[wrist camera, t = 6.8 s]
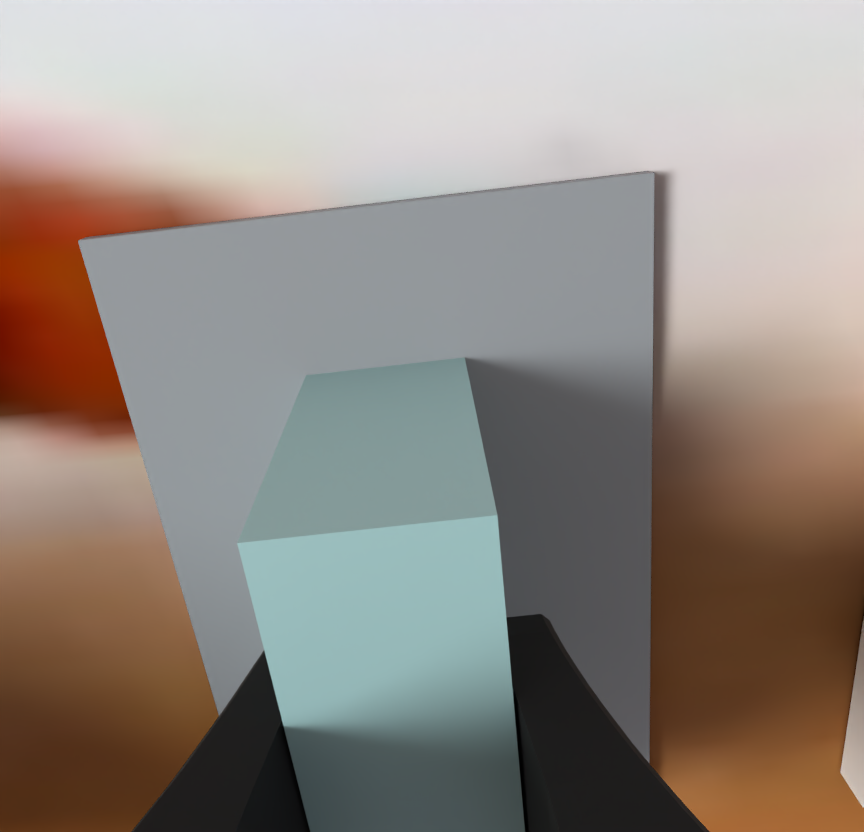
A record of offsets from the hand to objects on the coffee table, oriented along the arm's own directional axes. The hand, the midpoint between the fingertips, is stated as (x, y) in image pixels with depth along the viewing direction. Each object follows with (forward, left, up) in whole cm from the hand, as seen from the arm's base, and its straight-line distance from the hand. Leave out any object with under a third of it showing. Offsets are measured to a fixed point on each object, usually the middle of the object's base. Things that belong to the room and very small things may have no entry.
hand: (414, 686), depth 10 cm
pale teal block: (0, 0, -3) cm, 3 cm away
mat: (0, 0, -3) cm, 3 cm away
